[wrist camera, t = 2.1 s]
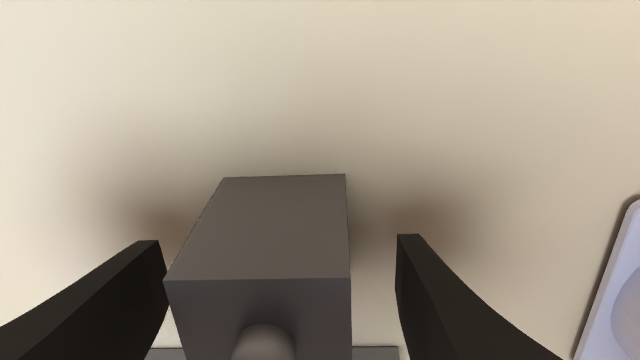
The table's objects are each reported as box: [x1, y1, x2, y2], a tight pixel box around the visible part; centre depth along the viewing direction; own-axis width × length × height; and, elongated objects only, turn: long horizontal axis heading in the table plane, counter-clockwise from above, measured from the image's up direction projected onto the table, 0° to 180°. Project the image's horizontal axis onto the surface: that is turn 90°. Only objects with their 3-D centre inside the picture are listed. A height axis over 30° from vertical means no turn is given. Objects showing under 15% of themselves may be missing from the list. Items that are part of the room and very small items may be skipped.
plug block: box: [162, 174, 352, 360], centre depth 11 cm, size 4×4×6 cm
